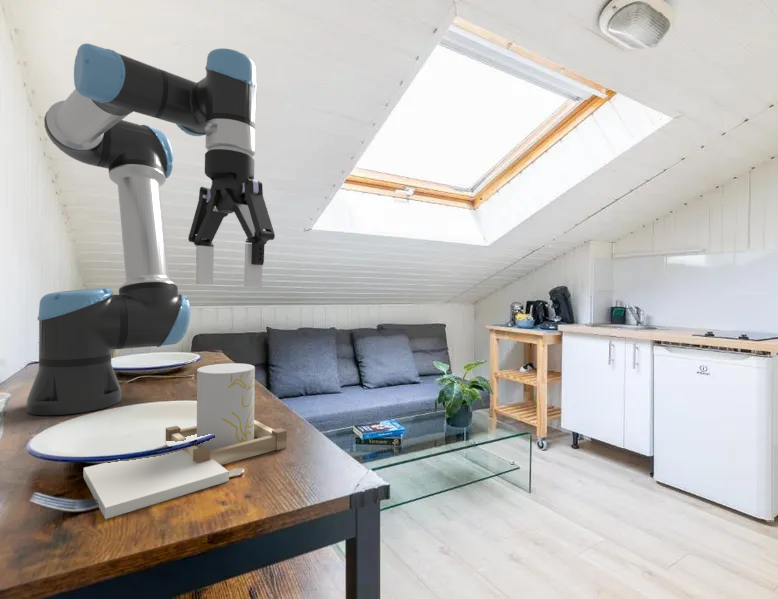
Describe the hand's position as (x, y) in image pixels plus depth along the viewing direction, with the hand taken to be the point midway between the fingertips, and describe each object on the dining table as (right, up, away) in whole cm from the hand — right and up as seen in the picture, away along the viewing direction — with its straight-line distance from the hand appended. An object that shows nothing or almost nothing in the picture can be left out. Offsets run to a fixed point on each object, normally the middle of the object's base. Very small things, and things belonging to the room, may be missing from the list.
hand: (227, 285), depth 69 cm
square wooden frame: (+2, -25, -5) cm, 25 cm away
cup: (+2, -25, -5) cm, 25 cm away
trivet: (-3, -25, -16) cm, 30 cm away
